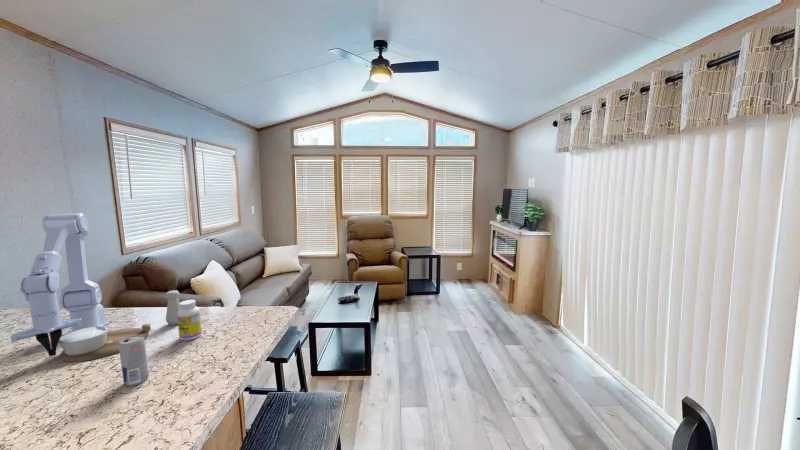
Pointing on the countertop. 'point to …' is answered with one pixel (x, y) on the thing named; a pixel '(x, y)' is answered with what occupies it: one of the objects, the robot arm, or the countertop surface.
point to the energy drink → (133, 360)
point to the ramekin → (84, 340)
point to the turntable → (109, 344)
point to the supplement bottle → (189, 320)
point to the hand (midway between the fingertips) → (52, 354)
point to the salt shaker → (172, 307)
